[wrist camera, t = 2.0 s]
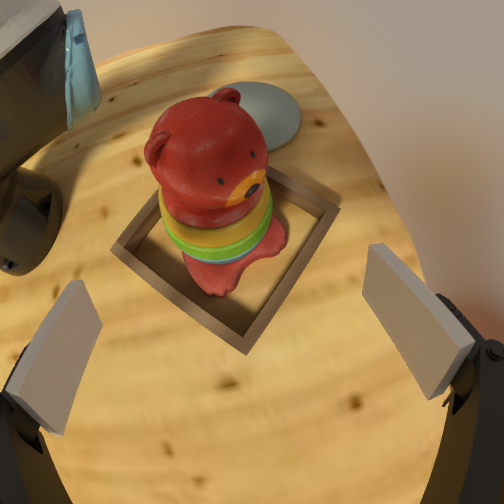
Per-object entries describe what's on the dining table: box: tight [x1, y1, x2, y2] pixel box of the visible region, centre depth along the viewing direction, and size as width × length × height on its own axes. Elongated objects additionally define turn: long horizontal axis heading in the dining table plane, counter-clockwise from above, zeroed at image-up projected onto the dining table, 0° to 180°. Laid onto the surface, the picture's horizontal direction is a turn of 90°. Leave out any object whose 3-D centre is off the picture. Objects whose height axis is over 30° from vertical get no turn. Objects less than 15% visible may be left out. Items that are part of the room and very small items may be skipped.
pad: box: [207, 82, 301, 152], centre depth 34 cm, size 14×14×1 cm
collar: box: [110, 166, 340, 356], centre depth 28 cm, size 17×17×2 cm
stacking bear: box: [144, 87, 287, 297], centre depth 21 cm, size 11×10×18 cm
